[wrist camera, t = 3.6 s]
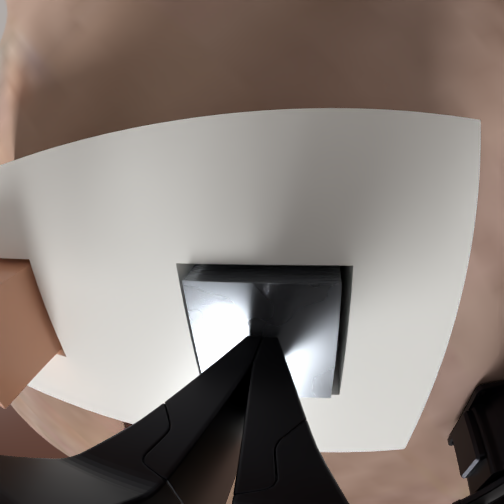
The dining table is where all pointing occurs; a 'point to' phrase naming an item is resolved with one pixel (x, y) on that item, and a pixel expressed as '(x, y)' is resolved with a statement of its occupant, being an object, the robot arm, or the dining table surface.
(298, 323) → the metallic grey block
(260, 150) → the white rectangular block
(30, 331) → the peach square block
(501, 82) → the dining table surface
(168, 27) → the dining table surface
